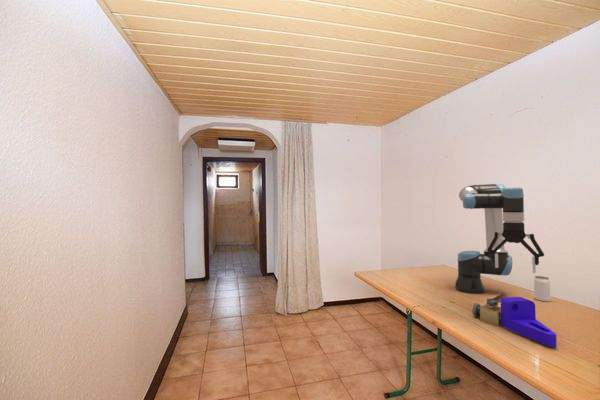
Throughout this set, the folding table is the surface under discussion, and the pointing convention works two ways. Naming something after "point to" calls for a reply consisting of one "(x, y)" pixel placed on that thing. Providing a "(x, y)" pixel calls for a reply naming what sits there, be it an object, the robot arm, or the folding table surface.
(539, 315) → the folding table surface
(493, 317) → the valve
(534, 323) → the bracket
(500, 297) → the lever
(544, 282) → the can
